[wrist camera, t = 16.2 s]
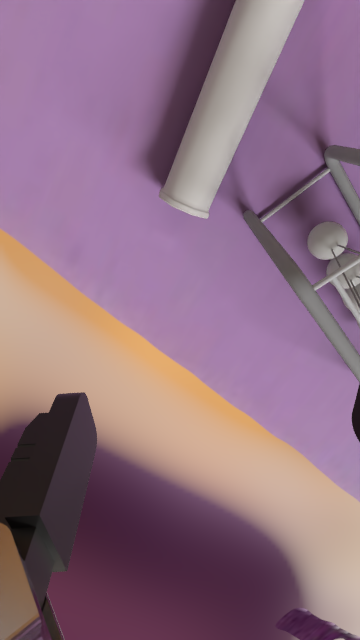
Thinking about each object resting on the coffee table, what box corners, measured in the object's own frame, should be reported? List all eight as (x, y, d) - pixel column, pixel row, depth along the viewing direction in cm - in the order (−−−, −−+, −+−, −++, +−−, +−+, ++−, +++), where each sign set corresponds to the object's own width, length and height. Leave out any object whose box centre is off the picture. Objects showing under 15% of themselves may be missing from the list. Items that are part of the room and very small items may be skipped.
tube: (282, -169, 23) (151, 188, 35) (334, -215, 19) (166, 206, 31) (333, -109, 26) (195, 205, 37) (387, -139, 22) (215, 223, 33)
